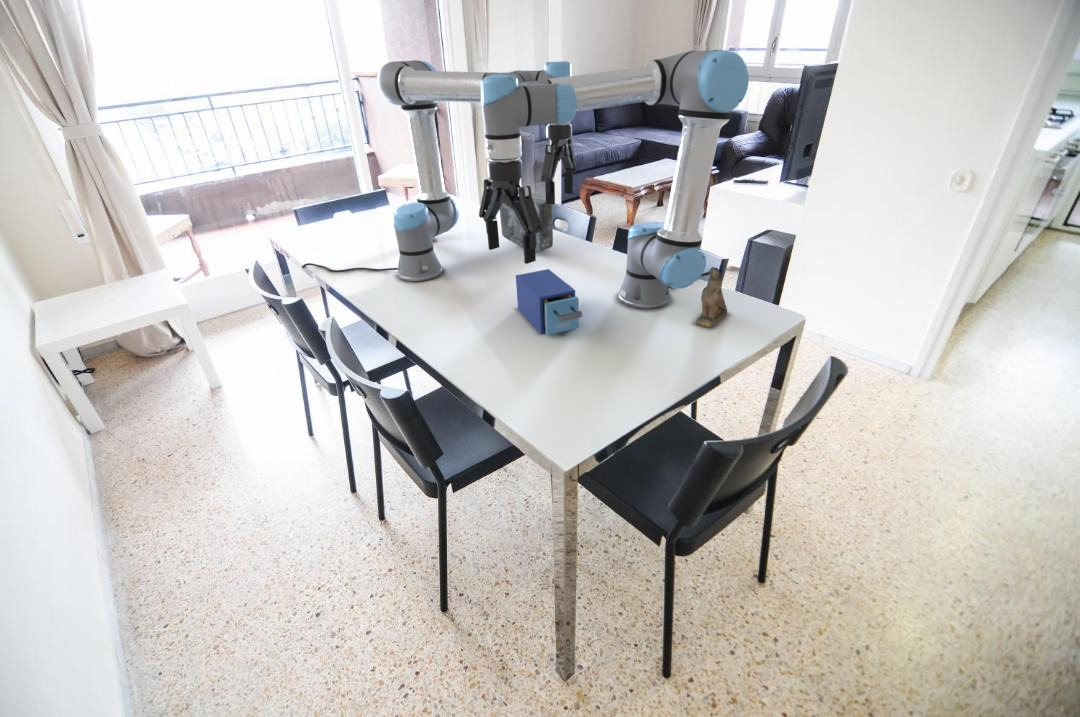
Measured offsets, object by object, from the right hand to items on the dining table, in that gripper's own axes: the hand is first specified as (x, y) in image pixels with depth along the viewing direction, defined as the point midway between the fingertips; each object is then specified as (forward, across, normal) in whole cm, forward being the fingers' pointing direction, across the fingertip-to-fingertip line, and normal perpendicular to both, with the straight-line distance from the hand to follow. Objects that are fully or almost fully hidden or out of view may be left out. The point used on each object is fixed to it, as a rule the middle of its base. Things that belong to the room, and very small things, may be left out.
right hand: (511, 255), depth 117 cm
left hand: (-1, -26, +40) cm, 47 cm away
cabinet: (+25, -8, +17) cm, 31 cm away
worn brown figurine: (+25, +26, +49) cm, 61 cm away
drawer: (+24, -2, +15) cm, 28 cm away
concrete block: (+25, -58, +52) cm, 82 cm away
